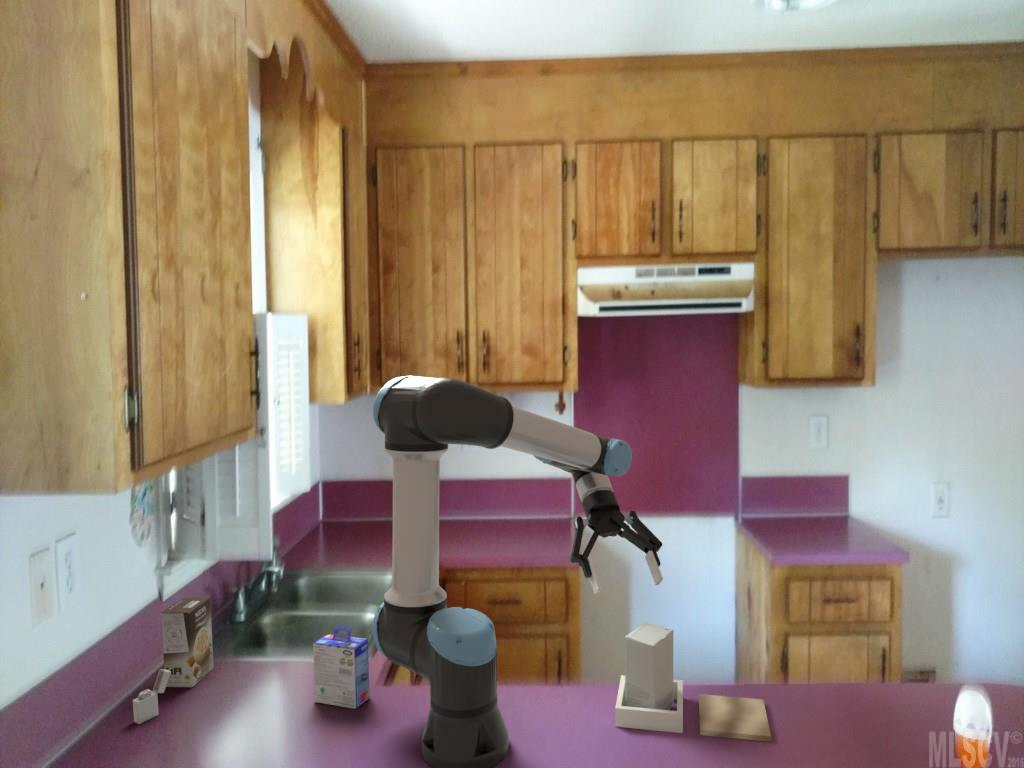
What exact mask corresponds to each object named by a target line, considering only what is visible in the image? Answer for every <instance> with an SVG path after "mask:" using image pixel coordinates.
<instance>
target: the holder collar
mask: <svg viewBox="0 0 1024 768" xmlns="http://www.w3.org/2000/svg"><path fill="white" fill-rule="evenodd" d="M673 700H676V710H672V709H671V710H660V709H649V708H638V707H627V706H625V674H624V675H622V674H621V675H620V679H619V686H618V692H617V697H616V701H615V702H616V703H615V709H614V712H615V715H614V717H615V719H614V720H615V724H614V725H615V727H616V728H624V729H626V728H627V729H638V730H646V731H657V732H658V731H659V732H666V733H667V732H668V733H677V734H683V733H684V680H683V679H673Z"/></svg>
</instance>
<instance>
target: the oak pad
mask: <svg viewBox="0 0 1024 768" xmlns="http://www.w3.org/2000/svg"><path fill="white" fill-rule="evenodd" d="M698 711H699V713H698V714H699V719H698V720H699V735H700V736H709V737H718V738H727V739H736V740H749V741H757V742H758V741H760V742H767V743H770V742H772V734H771V729H770V726H769V725H770V724H769V721H768V716H767V715H768V714H767V711H766V707H765V701H764V699H762V698H751V697H750V698H749V697H738V696H727V695H715V694H704V693H703V694H701V693H698Z"/></svg>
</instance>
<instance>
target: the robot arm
mask: <svg viewBox="0 0 1024 768" xmlns="http://www.w3.org/2000/svg"><path fill="white" fill-rule="evenodd" d="M373 402H374V403H373V407H372V409H373V410H372V415H373V420H374V423H375V425H376V427H377V428H378V429H379V431H380V432H381V433H383V435H384V451H386V452H387V454H388V455H389V456H390V457H391V458H392V553H391V554H392V562H391V563H392V567H391V568H392V569H391V570H392V571H391V572H392V577H391V579H392V580H391V584H392V585H391V587H390V588H389V589H388V590H387V591H386V592H385V593H384V595H383V602H382V603H381V604H380V605H379V607H378V609H379V610H378V611H377V612H375V614H374V616H373V620H372V625H371V633H372V639H373V642H374V646H375V647H376V649H377V651H379V652H380V654H381V655H383V656H384V657H385V658H386V659H387V660H389V661H390V662H392V663H393V664H395V665H396V666H398V667H399V666H400V667H403V668H405V670H408V671H410V672H411V673H414V674H415V675H417V676H419V677H421V678H423V679H425V680H426V681H428V682H429V697H430V699H429V700H430V702H429V703H430V709H429V712H428V716H427V720H426V722H425V726H424V729H423V732H422V733H423V734H422V736H421V755H422V759H423V760H424V761H425V762H426V763H427V765H429V766H430V767H432V768H492V767H494V766H496V765H498V764H499V763H500V762H501V761H502V760H504V759H505V757H506V756H507V754H508V752H509V732H508V729H507V727H506V723H505V719H504V717H503V715H502V713H501V710H500V707H499V704H498V653H497V651H498V647H497V646H498V641H497V637H496V630H495V626H494V623H493V621H492V620H491V619H490V618H489V617H488V615H486V614H484V613H483V612H481V611H479V610H477V609H474V608H469V607H466V608H462V606H453V607H448V606H447V604H448V603H447V599H448V597H447V596H448V595H447V592H446V591H445V589H443V588H442V586H440V583H439V582H440V581H439V578H440V574H439V573H440V570H439V569H440V565H439V564H440V476H441V475H440V469H441V467H440V465H441V464H440V462H441V460H440V459H441V458H442V456H443V455H444V454H445V453H446V452H447V451H448V450H449V445H464V446H474V447H475V446H476V447H480V448H481V447H482V448H485V449H488V450H490V449H491V450H493V449H494V450H495V449H497V448H499V447H502V448H506V449H508V450H509V449H510V450H513V451H516V452H521V453H524V454H527V455H531V456H533V457H534V458H535V459H536V460H538V461H540V462H541V463H542V464H545V465H549V466H552V467H555V468H557V469H560V470H562V471H564V472H567V473H570V474H571V475H572V479H573V481H574V484H575V488H576V491H577V493H578V496H579V499H580V501H581V503H582V504H581V505H582V508H583V509H582V510H583V511H584V514H585V517H586V518H583V517H582V516H578V517H577V518H576V519H575V521H574V530H575V534H574V539H573V544H572V547H571V548H572V549H571V553H570V554H571V555H570V558H569V559H570V563H572V564H575V563H576V564H578V566H579V567H581V569H582V571H583V576H584V577H585V578H586V579H589V581H590V585H591V588H592V592H593V594H594V595H598V594H599V593H600V591H601V590H602V584H601V582H600V579H599V575H598V572H597V569H596V567H595V563H594V560H593V558H589V556H590V554H591V552H592V550H593V548H594V546H595V544H596V542H597V540H598V537H599V536H600V537H602V539H604V538H605V539H606V538H608V537H612V538H614V537H617V536H619V537H620V538H622V539H625V540H627V541H628V542H629V543H631V544H632V545H633V546H635V547H637V548H638V549H639V550H641V551H642V552H643V553H645V554H646V555H645V556H644V558H645V561H646V564H647V567H648V569H649V572H650V574H651V577H652V580H653V582H654V585H655V586H659V585H660V584H661V582H663V580H664V577H663V575H662V572H661V569H660V568H659V567H660V566H661V560H660V558H659V555H658V553H657V552H659V551H660V550H661V548H662V547H663V542H662V541H661V540H660V539H659V538H658V537H657V536H656V535H655V534H654V533H653V532H652V531H651V529H649V528H648V527H647V526H646V524H645V523H643V522H642V520H641V519H639V517H638V515H637V512H636V511H635V510H630V512H629V513H625V514H623V512H621V507H620V506H619V502H618V500H617V499H618V498H617V497H616V494H615V493H614V489H613V486H612V483H611V481H610V478H609V477H621V476H624V475H626V473H627V472H628V471H629V470H630V468H631V466H632V460H633V451H632V448H631V445H629V443H628V442H627V441H625V440H622V439H617V438H616V437H615V438H614V437H612V438H610V437H605V436H602V435H598V434H595V433H592V432H590V431H588V430H584V429H581V428H578V427H575V426H572V425H570V424H566V423H563V422H560V421H558V420H555V419H551V418H549V417H545V416H543V415H541V414H540V415H539V414H537V413H533V412H530V411H528V410H525V409H523V408H519V407H517V406H513V404H512V402H511V400H509V399H508V398H507V397H504V396H502V395H499V394H497V393H494V392H491V391H489V390H486V389H484V388H481V387H479V386H476V385H474V384H471V383H468V382H466V381H462V380H460V379H457V378H452V377H434V376H433V377H432V376H421V375H415V374H412V375H405V376H397V377H394V378H392V379H391V380H388V381H387V382H386V383H385V384H384V385H383V386H382V387H381V388H380V389H379V391H378V392H377V395H376V397H375V399H374V401H373ZM629 525H630V526H629ZM586 526H587V527H588V528H589V529H591V530H592V531H593V533H592V535H591V537H590V539H589V541H588V543H587V545H586V547H585V549H584V550H583V553H582V554H580V551H581V547H582V546H581V545H582V540H583V535H584V530H585V529H586ZM631 528H632V529H631Z"/></svg>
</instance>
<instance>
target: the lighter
mask: <svg viewBox="0 0 1024 768" xmlns="http://www.w3.org/2000/svg"><path fill="white" fill-rule="evenodd" d="M170 673H171V671H169V670H166V669H164V668H160V669H159V671H158V673H157V676H156V679H155V682H154V685H153V688H152V690H151V689H144V690H142V691H140V692H139V694H138V696H137V697H136V698H134V699H132V708H133V709H132V711H133V722H134V723H135V724H138V725H141V724H143V723H144V722H147V721H149V720H151V719H153V718H155V717H157V716H159V714H160V713H159V711H160V710H159V697H158V694H165V691H166V688H167V687H166V685H167V682H168V679H169V676H170Z"/></svg>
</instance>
